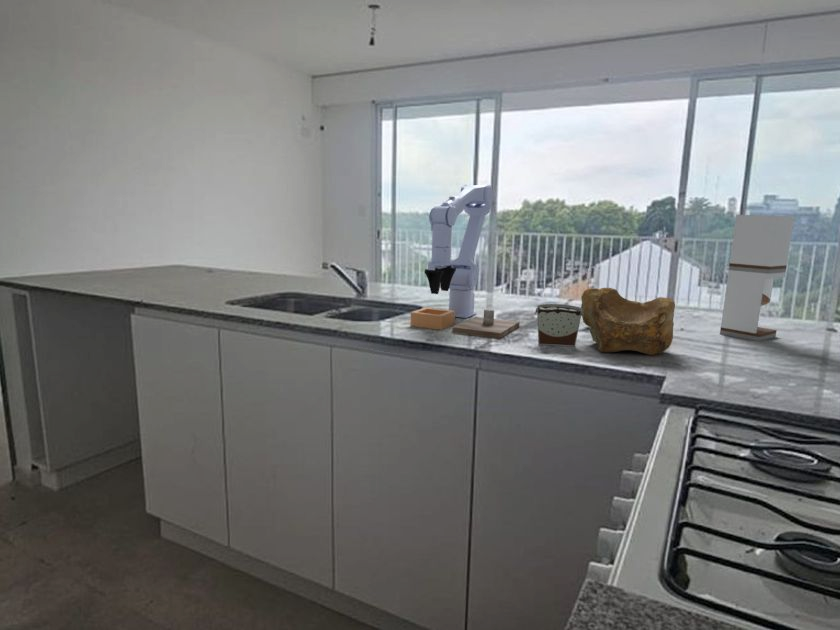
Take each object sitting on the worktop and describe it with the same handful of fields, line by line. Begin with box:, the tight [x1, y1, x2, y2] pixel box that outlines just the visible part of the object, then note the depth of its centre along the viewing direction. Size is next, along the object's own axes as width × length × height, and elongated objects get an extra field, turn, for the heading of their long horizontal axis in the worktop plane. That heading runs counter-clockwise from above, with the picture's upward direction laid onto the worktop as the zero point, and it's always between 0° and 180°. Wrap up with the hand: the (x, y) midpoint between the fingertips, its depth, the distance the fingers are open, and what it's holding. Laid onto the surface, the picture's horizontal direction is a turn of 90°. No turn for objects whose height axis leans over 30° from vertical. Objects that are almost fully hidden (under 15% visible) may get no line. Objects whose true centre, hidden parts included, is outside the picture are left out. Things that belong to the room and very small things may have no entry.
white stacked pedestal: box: [719, 214, 795, 342], centre depth 156 cm, size 11×11×35 cm
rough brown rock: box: [580, 287, 676, 356], centre depth 135 cm, size 23×17×15 cm
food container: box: [534, 303, 584, 347], centre depth 141 cm, size 12×6×10 cm, turn 84°
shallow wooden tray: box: [410, 307, 456, 331], centre depth 160 cm, size 10×10×4 cm
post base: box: [452, 308, 521, 339], centre depth 156 cm, size 19×14×6 cm
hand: (439, 292), depth 163 cm, fingers open, 7 cm apart
